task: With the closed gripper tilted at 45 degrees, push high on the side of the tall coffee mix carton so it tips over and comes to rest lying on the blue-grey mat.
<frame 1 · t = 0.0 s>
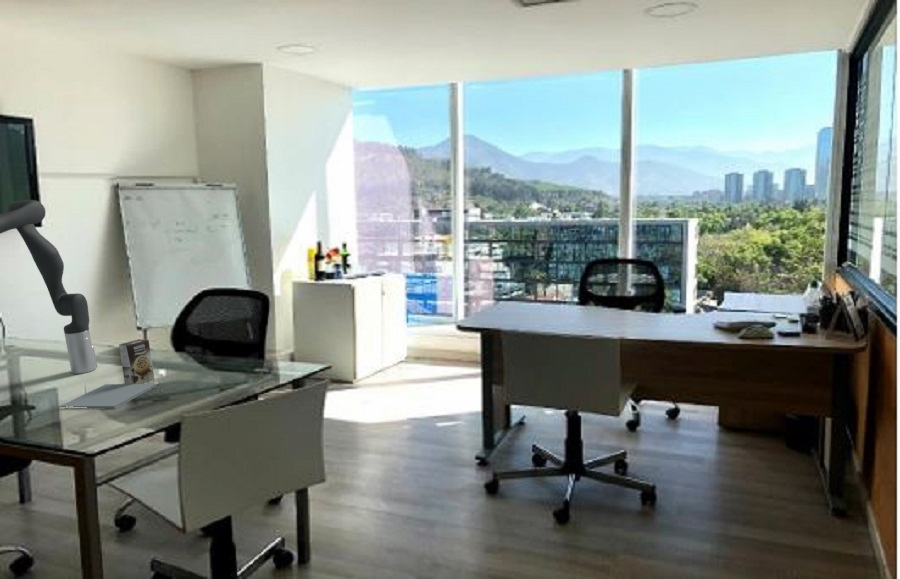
mat: (110, 397, 250), on the table
coffee box: (140, 382, 267), on the table
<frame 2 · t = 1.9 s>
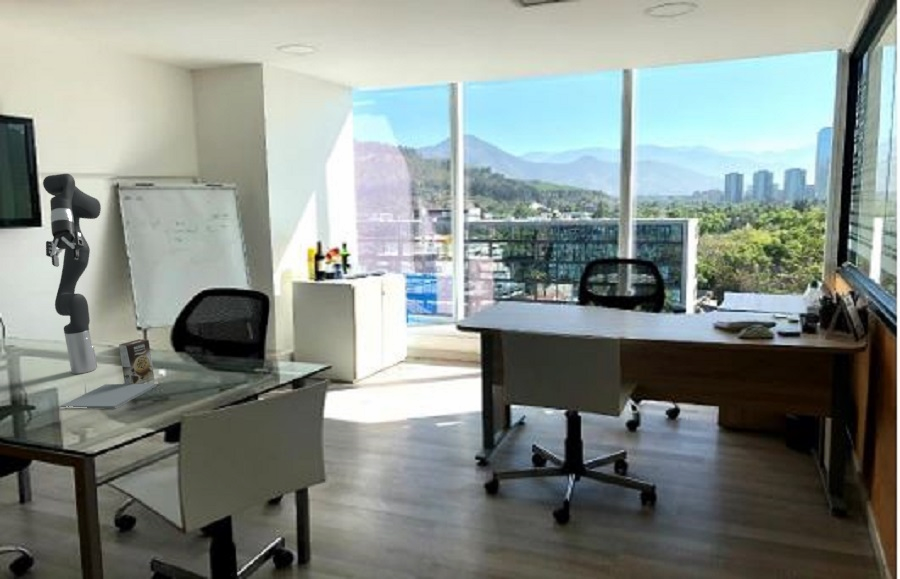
hand: (65, 262, 254), 49 cm above the table, fingers open, 8 cm apart
nothing on the table moved.
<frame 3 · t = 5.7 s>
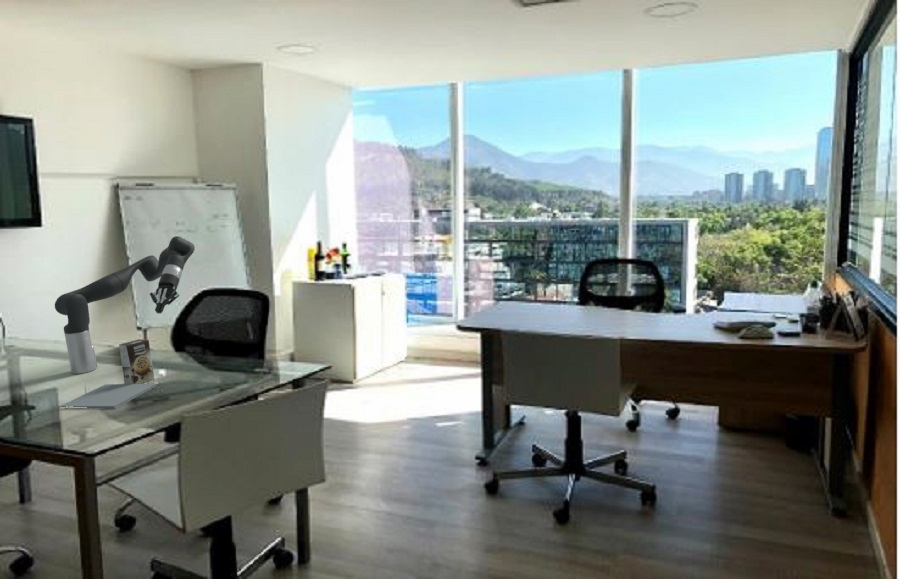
hand: (158, 312, 281), 24 cm above the table, fingers closed
nothing on the table moved.
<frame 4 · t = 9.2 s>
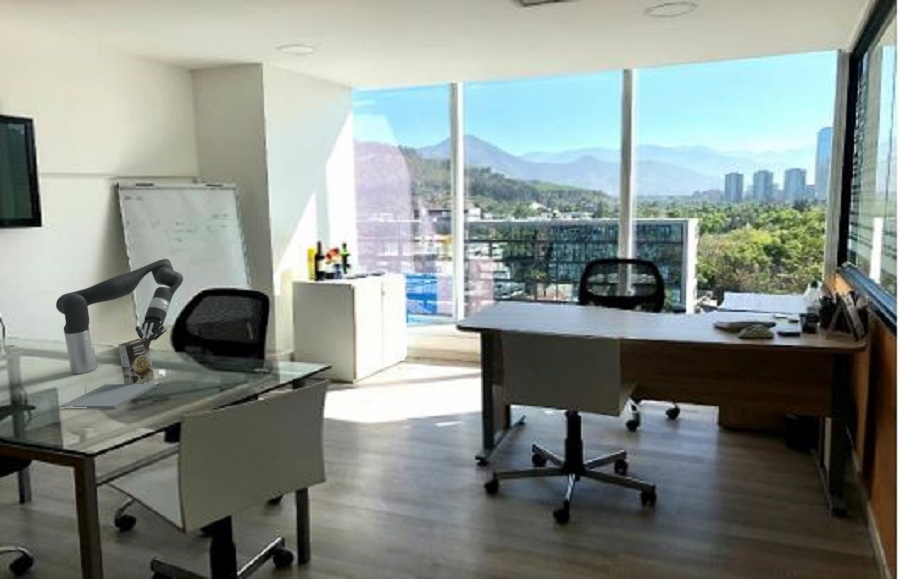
hand: (143, 348, 269), 12 cm above the table, fingers closed
coffee box: (140, 382, 267), on the table, touching gripper
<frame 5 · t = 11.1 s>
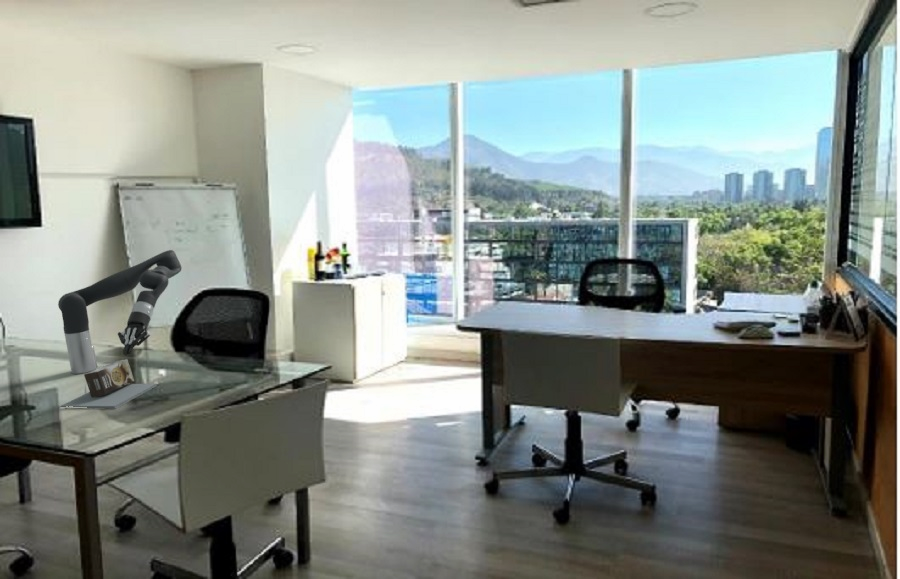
hand: (126, 354, 259), 13 cm above the table, fingers closed
coffee box: (124, 370, 262), point 6 cm above the table, touching mat
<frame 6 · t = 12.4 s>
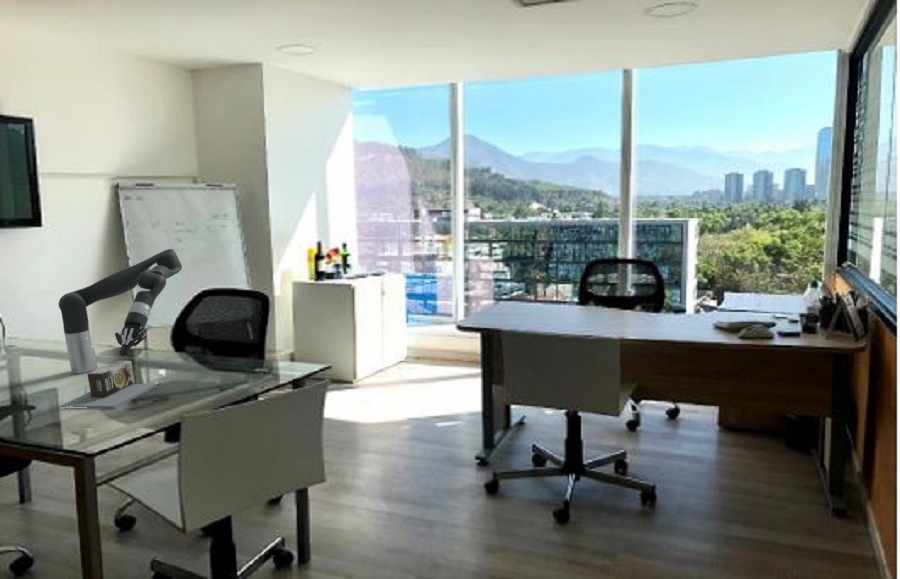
hand: (122, 355, 258), 13 cm above the table, fingers closed
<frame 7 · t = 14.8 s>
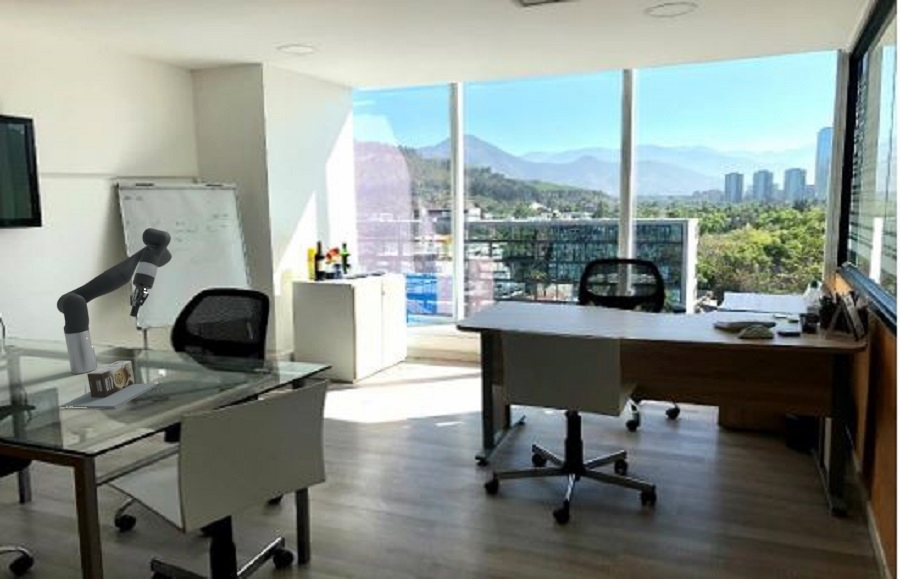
hand: (133, 316, 271), 25 cm above the table, fingers closed
nothing on the table moved.
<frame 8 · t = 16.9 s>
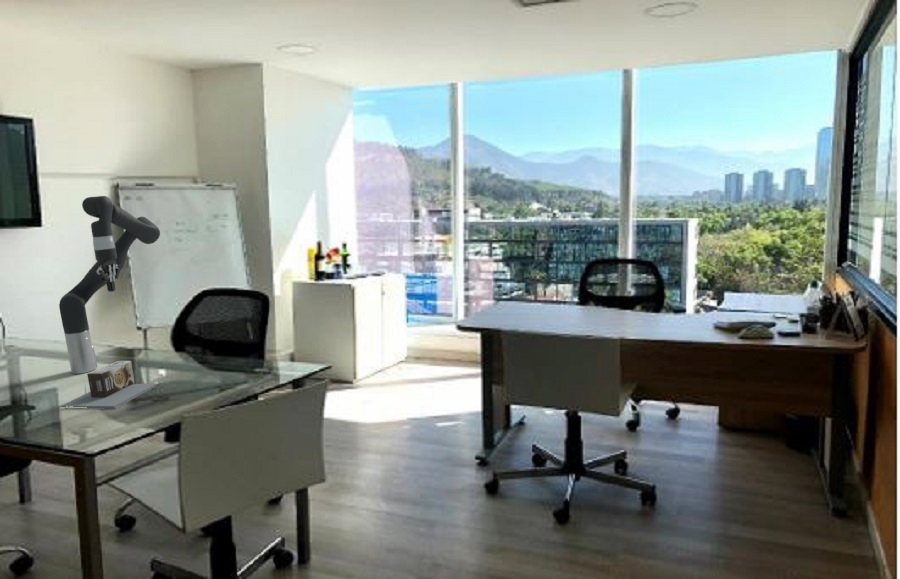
hand: (111, 291, 271), 35 cm above the table, fingers closed
nothing on the table moved.
at the end: coffee box tilted 91°; coffee box touching mat; the gripper is holding nothing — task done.
